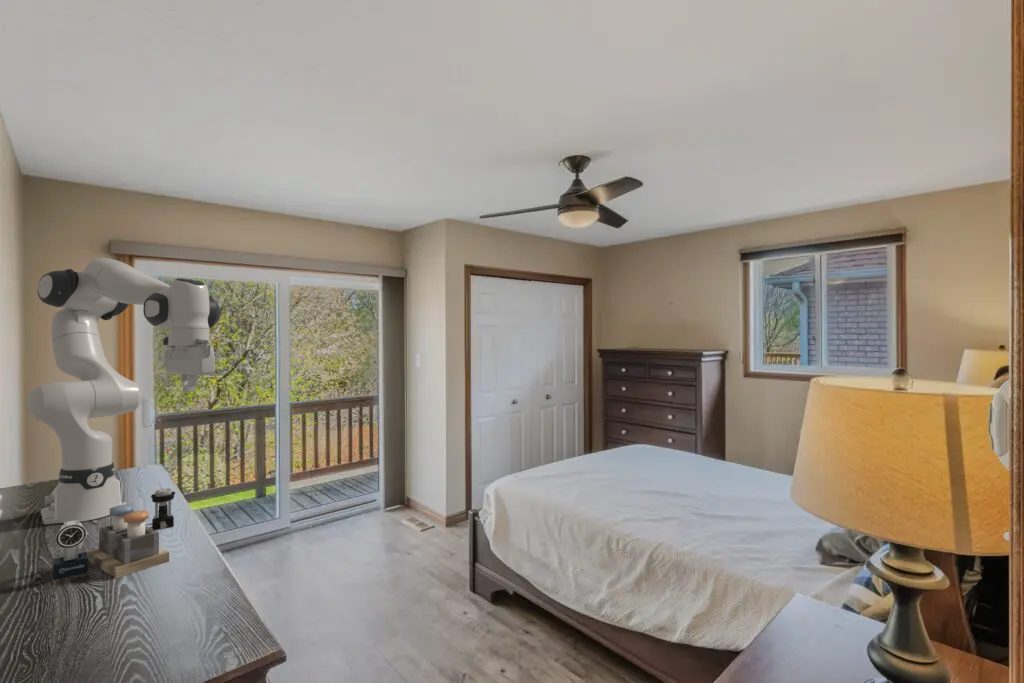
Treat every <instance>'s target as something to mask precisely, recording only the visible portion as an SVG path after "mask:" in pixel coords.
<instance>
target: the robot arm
mask: <svg viewBox="0 0 1024 683" xmlns="http://www.w3.org/2000/svg"><path fill="white" fill-rule="evenodd" d="M37 284H38V285H37V295H38V297H39V299H40V301H41V302H42V303H44V304H46V305H49V306H52V307H54V308H62V309H60V310H58V311H57V312H56V313H55V314H54V315H53V317H52V319H51V320H52V321H51V330H50V334H51V342H52V349H53V355H54V360H55V365H56V367H57V368H58V370H60V371H61V372H62V373H63V374H66V375H69V376H71V377H75V378H77V379H79V380H73V381H71V380H70V381H56V382H51V383H46V384H41V385H38V386H35V387H34V389H32V391H30V393H29V395H28V396H27V400H26V407H27V411H28V413H29V414H30V416H32V417H33V418H34V419H35V420H37V421H40V422H42V423H44V424H46V425H47V426H48V427H49V428H50V429H52V430H53V431H54V433H55V434H56V435H57V437H58V440H59V443H60V450H61V468H60V470H59V473H58V484H57V485H56V487H55V488H54V489H53V490H52V492H51V494H50V495H46V496H44V505H49V506H47V507H45V508H41V510H40V516H41V521H42V524H43V525H53V524H64V522H69V521H74V520H78V522H87V521H92V520H97V519H100V518H101V519H102V518H104V517H107V516H111V515H110V508H112V507H115V506H119V505H126V504H127V502H125V501H122V498H121V495H122V494H121V482H120V480H119V479H117V478H116V477H114V475H115V463H114V462H113V438H112V436H111V435H110V434H109V433H107V432H105V431H102V430H100V429H96V428H92V427H90V426H89V423H88V419H95V418H101V417H104V418H105V417H114V416H115V417H116V416H120V415H124V414H128V413H131V412H134V411H136V410H137V409H138V408H139V407H140V405H141V403H142V401H143V391H142V389H141V387H140V385H139V384H138V383H137V382H136V381H134V380H131V379H129V378H127V377H126V376H123V375H122V374H120V373H119V372H118V371H117V370H115V369H114V368H113V367H112V365H111V364H110V362H108V359H107V357H106V354H105V352H104V348H103V344H102V340H101V334H100V332H99V328H98V325H99V324H98V323H99V320H100V319H102V320H103V321H109V320H112V319H113V317H116V316H118V315H120V314H121V313H123V312H124V311H126V310H127V309H128V307H129V305H142V306H143V316H144V318H145V319H146V321H147V322H148V323H149V324H150V325H151V326H153V327H157V328H158V327H159V328H168V329H169V333H167V334H166V336H164V337H163V338H162V339H161V340H162V342H161V344H162V346H163V347H164V350H163V364H164V365H163V366H164V370H165V372H166V373H167V374H176V375H180V382H181V384H182V391H183V392H184V393H185V392H187V393H193V392H194V393H195V392H196V387H197V386H196V385H197V383H198V380H199V377H201V376H213V375H215V372H216V358H215V351H214V348H213V347H212V346H211V343H210V329H211V328H213V327H214V326H215V325H216V324H217V323H218V322H219V320H220V318H221V312H222V311H221V308H220V305H219V304H218V302H217V300H215V299H214V297H213V296H210V294H209V289H208V286H207V284H206V283H204V282H203V281H200V280H196V279H195V280H194V279H188V278H176V279H173V280H172V281H171V284H168V283H166V282H165V281H161V280H160V279H157V278H155V277H153V276H151V275H149V274H147V273H144V272H143V271H141V270H139V269H137V268H136V267H133V266H131V265H129V264H127V263H125V262H122V261H120V260H116V259H113V258H107V257H99V258H95V259H93V260H91V261H89V262H88V263H87V264H86V266H85V268H84V270H83V271H75V270H73V269H72V268H67V269H64V270H51V271H49V272H47V273H46V274H44V275H42V276H41V278H40V279H39V281H38V283H37ZM50 504H51V505H50Z"/></svg>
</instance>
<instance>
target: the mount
mask: <svg viewBox="0 0 1024 683" xmlns="http://www.w3.org/2000/svg"><path fill="white" fill-rule="evenodd" d="M149 527H150V526H149ZM149 527H148V526H145V535H142V536H138V537H134V538H131V539H127V528H125V529H122V530H118V531H113V524H110V525H106V526H102V527H99V532H98V534H99V535H98V537H99V538H98V539H99V541H98V548H96V549H93V550H89V551H87V554H88V562H90V563H91V564H93V565H95V566H96V567H97V568H99V569H100V570H101V571H104V573H105V572H106V573H107V574H108V575H110V576H111V577H113V578H114V579H119V578H122V577H124V576H129V575H131V574H134V573H137V572H140V571H143V570H147V569H149V568H153V567H155V566H159V565H162V564H164V563H167V562H170V552H169V551H167V550H166V549H163V548H162V547H160V532H159V531H157V530H153V529H152V528H149Z"/></svg>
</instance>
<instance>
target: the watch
mask: <svg viewBox="0 0 1024 683" xmlns="http://www.w3.org/2000/svg"><path fill="white" fill-rule="evenodd" d="M81 522H82V521H81ZM81 522H78V520H74V521H69V522H64V523H63V525H61V526H60V529H59V531H58V532H57V533H56V536H55V543H56V545H57V547H58V549H59V551H60V553H61V554H63V556H61V557H56V558H53V563H52V564H53V565H52V566H53V567H52V568H53V569H52V571H53V572H52V580H53V581H57V580H60V579H65V578H69V577H74V576H77V575H82V574H85V573H88V572H89V561H88V551H84V552H79V550H82V547H83V545H84V541H85V539H86V537H88V536H90V533H89V531H87V530H86V528H85V527H84V526H83V524H82V523H81Z"/></svg>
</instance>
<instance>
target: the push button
mask: <svg viewBox="0 0 1024 683" xmlns="http://www.w3.org/2000/svg"><path fill="white" fill-rule="evenodd" d="M175 495H176V492H175V491H172V489H171V488H161V489H157V490H155V491H154V493H153V494H151V495H150V498H151V501H152V503H154V516H153V518H152V521H151V523H147V524H146V523H145V527H148V526H149V528H151V529H153V530H155V531H157V530H161V529H167V528H173V527H174V524H175V519H174V518H175V517H174V515H173V513H172V500H173V499H175Z"/></svg>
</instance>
